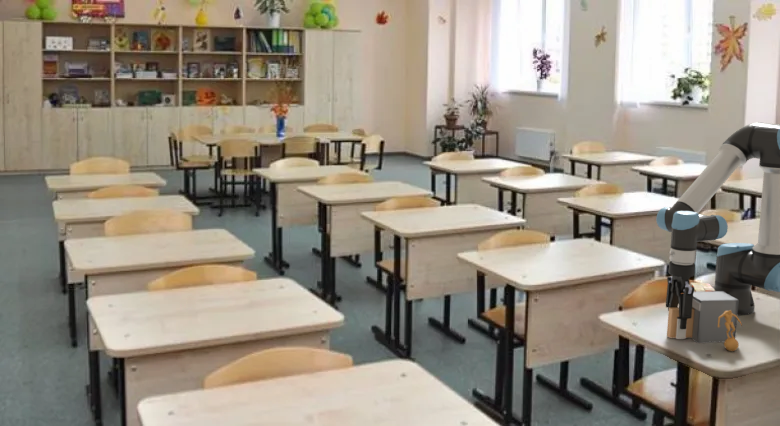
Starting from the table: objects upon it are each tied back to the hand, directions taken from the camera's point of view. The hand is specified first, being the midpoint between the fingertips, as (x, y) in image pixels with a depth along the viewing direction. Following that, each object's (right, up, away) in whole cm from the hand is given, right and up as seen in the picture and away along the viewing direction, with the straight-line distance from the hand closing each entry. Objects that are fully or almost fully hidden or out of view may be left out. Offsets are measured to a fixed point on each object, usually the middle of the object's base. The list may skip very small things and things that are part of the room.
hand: (676, 335), depth 262 cm
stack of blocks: (+14, +2, +19) cm, 23 cm away
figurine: (+12, -3, -10) cm, 16 cm away
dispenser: (+10, -1, +1) cm, 11 cm away
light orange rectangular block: (+4, -1, +1) cm, 5 cm away
